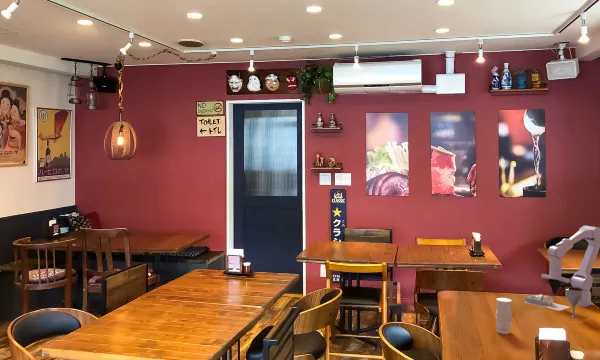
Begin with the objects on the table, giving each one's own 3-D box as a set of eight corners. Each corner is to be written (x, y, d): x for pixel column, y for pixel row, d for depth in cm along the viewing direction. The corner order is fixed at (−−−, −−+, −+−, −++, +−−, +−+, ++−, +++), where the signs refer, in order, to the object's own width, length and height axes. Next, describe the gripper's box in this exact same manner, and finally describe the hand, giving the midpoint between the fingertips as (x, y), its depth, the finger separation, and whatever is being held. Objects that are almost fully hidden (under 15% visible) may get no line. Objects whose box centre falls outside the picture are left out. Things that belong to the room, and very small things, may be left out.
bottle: (553, 305, 283) (536, 301, 291) (553, 296, 283) (537, 292, 291) (548, 305, 281) (531, 301, 288) (549, 297, 281) (532, 293, 289)
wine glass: (584, 321, 257) (585, 291, 256) (567, 319, 258) (568, 290, 258) (579, 316, 265) (580, 287, 264) (562, 315, 266) (563, 286, 265)
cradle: (535, 299, 295) (535, 294, 295) (570, 308, 279) (570, 302, 279) (523, 303, 288) (523, 297, 288) (559, 311, 272) (559, 306, 272)
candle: (509, 335, 235) (510, 302, 235) (493, 332, 239) (494, 300, 238) (512, 331, 241) (513, 299, 240) (497, 328, 245) (497, 297, 244)
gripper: (538, 267, 283) (537, 291, 283) (565, 271, 271) (564, 297, 272) (545, 265, 287) (544, 289, 288) (571, 270, 275) (571, 295, 276)
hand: (554, 293), depth 280 cm, fingers closed
